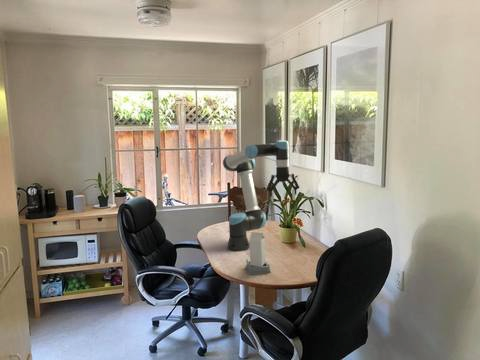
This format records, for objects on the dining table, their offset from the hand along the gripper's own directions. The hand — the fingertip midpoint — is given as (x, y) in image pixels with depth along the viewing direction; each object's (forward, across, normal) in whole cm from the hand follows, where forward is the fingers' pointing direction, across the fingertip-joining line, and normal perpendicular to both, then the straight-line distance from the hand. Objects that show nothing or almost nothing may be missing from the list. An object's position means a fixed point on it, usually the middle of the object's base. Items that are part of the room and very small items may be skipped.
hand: (283, 200), depth 235 cm
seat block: (+37, -20, -14) cm, 44 cm away
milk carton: (+33, -20, -14) cm, 41 cm away
